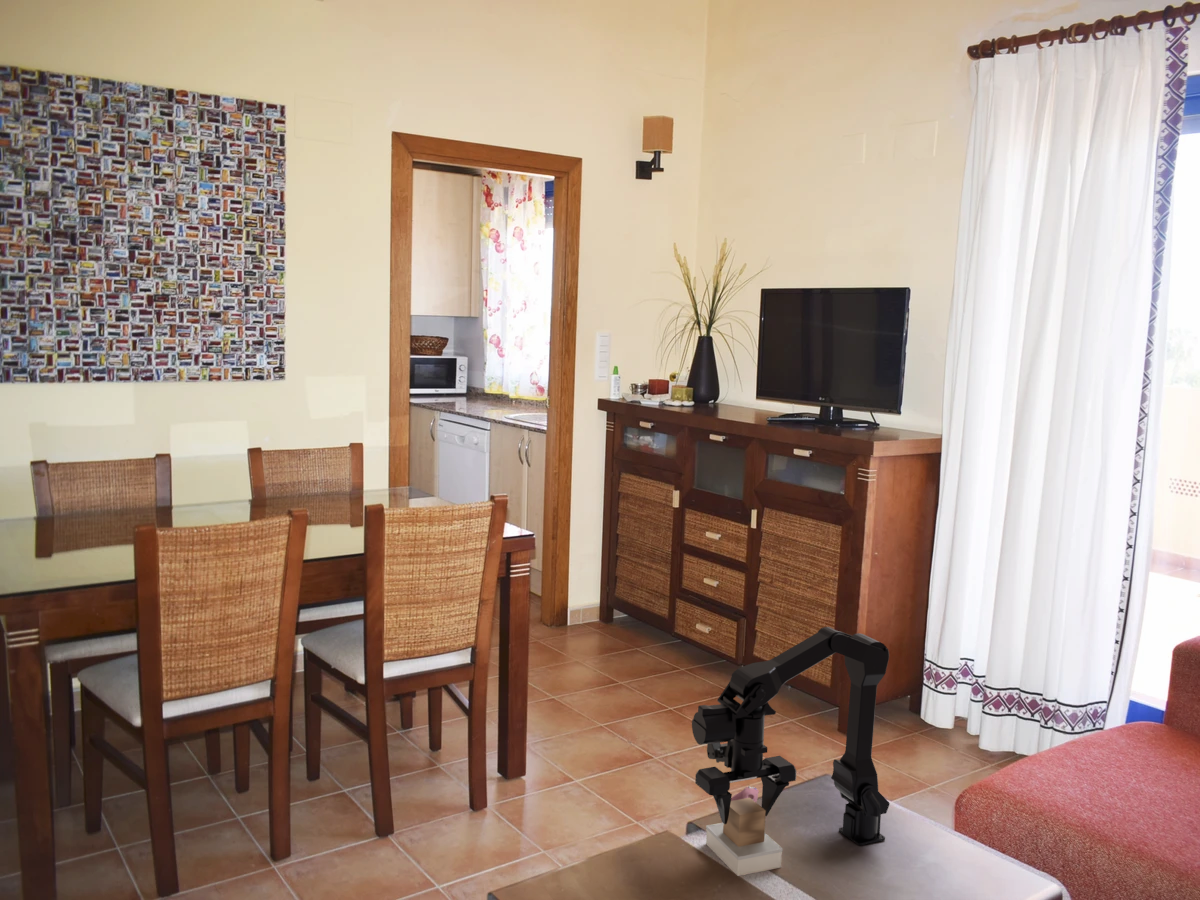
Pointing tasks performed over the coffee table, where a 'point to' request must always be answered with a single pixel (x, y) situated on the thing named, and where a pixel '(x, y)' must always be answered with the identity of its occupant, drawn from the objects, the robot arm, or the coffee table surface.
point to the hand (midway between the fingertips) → (744, 819)
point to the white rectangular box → (744, 852)
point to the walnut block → (745, 822)
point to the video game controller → (747, 794)
